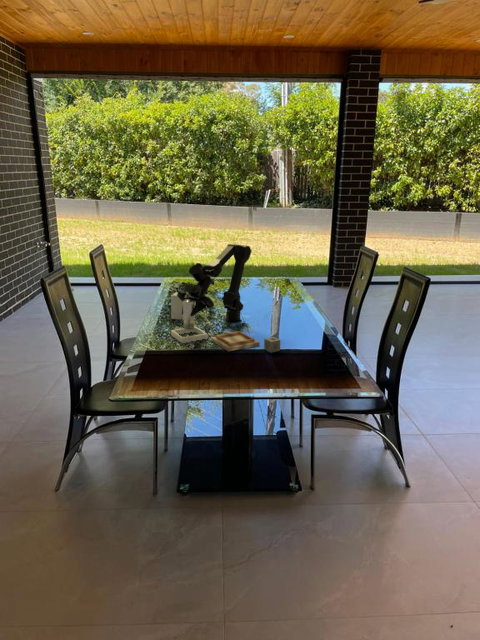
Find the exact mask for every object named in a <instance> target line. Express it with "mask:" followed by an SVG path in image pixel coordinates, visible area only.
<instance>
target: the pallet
mask: <svg viewBox="0 0 480 640" xmlns="http://www.w3.org/2000/svg"><path fill="white" fill-rule="evenodd" d="M211 341H212V342H213V343H214V344H216V345H218V346H219V347H220V348H222V349H224V350H226V351H227V352H232V351H236V350H237V351H238V350H242V349H248V348H252V347H259V346H260V345H261V344H260V343H261V342H260V341H259V340H256V339H255V338H254V337H251V336H250V335H248V334H246V333H244V332H243V331H234V332H233V331H232V332H226V333H222V334H217V335H216V336H212V337H211Z"/></svg>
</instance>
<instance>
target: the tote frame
mask: <svg viewBox="0 0 480 640" xmlns="http://www.w3.org/2000/svg"><path fill="white" fill-rule="evenodd" d="M170 332H171V334H170V335H171V337H173V338H174V339H176V340H177V341H179V342H180V343H181V344H187V343H192V342H191V341H193V342H197V341H196V340H199V341H203V340H202V339H205V340H208V333H207V332H206V331H203V330H202V329H200V328H199V327H198V326H195V325H194V329H191V330H186V329H184V327H183V328H178V329H171V330H170ZM190 332H192V333H196V335H195V334H194V335H189V336H182V335H185V334H184V333H186V334H191V333H190ZM197 333H198V334H197ZM179 334H180V335H179ZM186 342H187V343H186Z"/></svg>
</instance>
